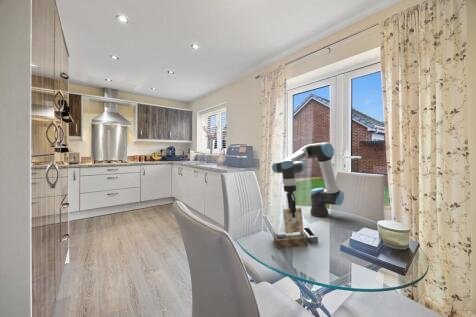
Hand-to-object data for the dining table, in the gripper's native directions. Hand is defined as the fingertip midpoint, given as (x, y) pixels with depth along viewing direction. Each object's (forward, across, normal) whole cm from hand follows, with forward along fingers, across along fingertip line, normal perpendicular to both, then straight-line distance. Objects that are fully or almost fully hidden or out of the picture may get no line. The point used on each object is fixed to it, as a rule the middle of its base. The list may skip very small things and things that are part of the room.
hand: (293, 221), depth 124 cm
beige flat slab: (+7, 0, 0) cm, 7 cm away
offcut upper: (+12, -5, -8) cm, 15 cm away
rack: (+15, -3, -3) cm, 15 cm away
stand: (+15, -7, +11) cm, 20 cm away
